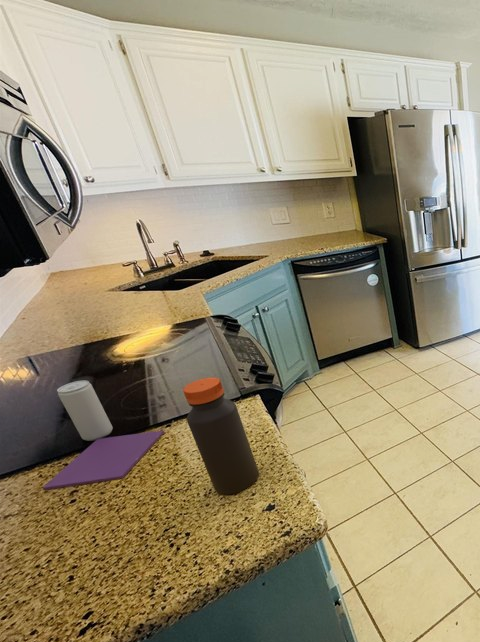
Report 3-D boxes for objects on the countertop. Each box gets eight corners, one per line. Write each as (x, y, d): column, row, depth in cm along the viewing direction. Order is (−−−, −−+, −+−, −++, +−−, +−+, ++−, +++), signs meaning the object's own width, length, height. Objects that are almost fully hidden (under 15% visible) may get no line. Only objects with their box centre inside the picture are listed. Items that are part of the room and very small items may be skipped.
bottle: (214, 502, 68) (173, 400, 60) (215, 478, 74) (176, 382, 66) (260, 485, 72) (227, 387, 64) (258, 463, 77) (226, 370, 69)
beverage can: (76, 440, 84) (49, 390, 80) (103, 426, 89) (78, 378, 84) (94, 443, 83) (67, 393, 79) (119, 429, 88) (95, 381, 83)
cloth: (43, 490, 72) (42, 487, 71) (98, 441, 84) (97, 438, 84) (122, 478, 74) (121, 476, 74) (164, 432, 86) (163, 430, 86)
